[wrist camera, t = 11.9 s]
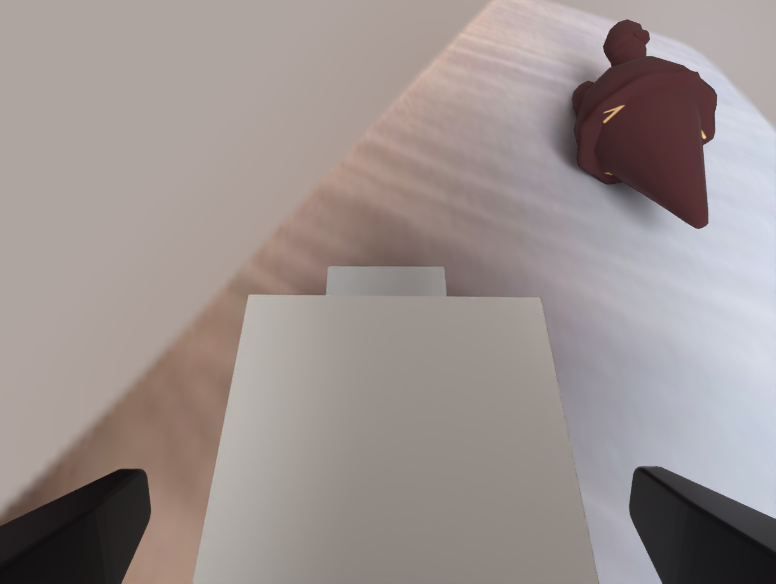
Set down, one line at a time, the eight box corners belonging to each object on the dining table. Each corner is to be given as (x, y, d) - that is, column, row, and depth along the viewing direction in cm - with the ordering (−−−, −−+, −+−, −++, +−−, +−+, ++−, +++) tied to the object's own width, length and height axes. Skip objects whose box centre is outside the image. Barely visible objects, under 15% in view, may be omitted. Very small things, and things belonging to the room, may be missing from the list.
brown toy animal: (842, 179, 19) (686, 20, 28) (695, 141, 17) (580, -15, 26) (709, 283, 24) (613, 121, 33) (586, 262, 22) (521, 97, 32)
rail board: (557, 946, 12) (651, 1136, 8) (215, 953, 12) (127, 1149, 8) (477, 318, 22) (500, 256, 18) (292, 318, 22) (271, 255, 18)
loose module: (458, 614, 14) (617, 671, 5) (314, 613, 14) (174, 669, 5) (448, 458, 17) (537, 286, 7) (325, 457, 17) (250, 283, 7)
